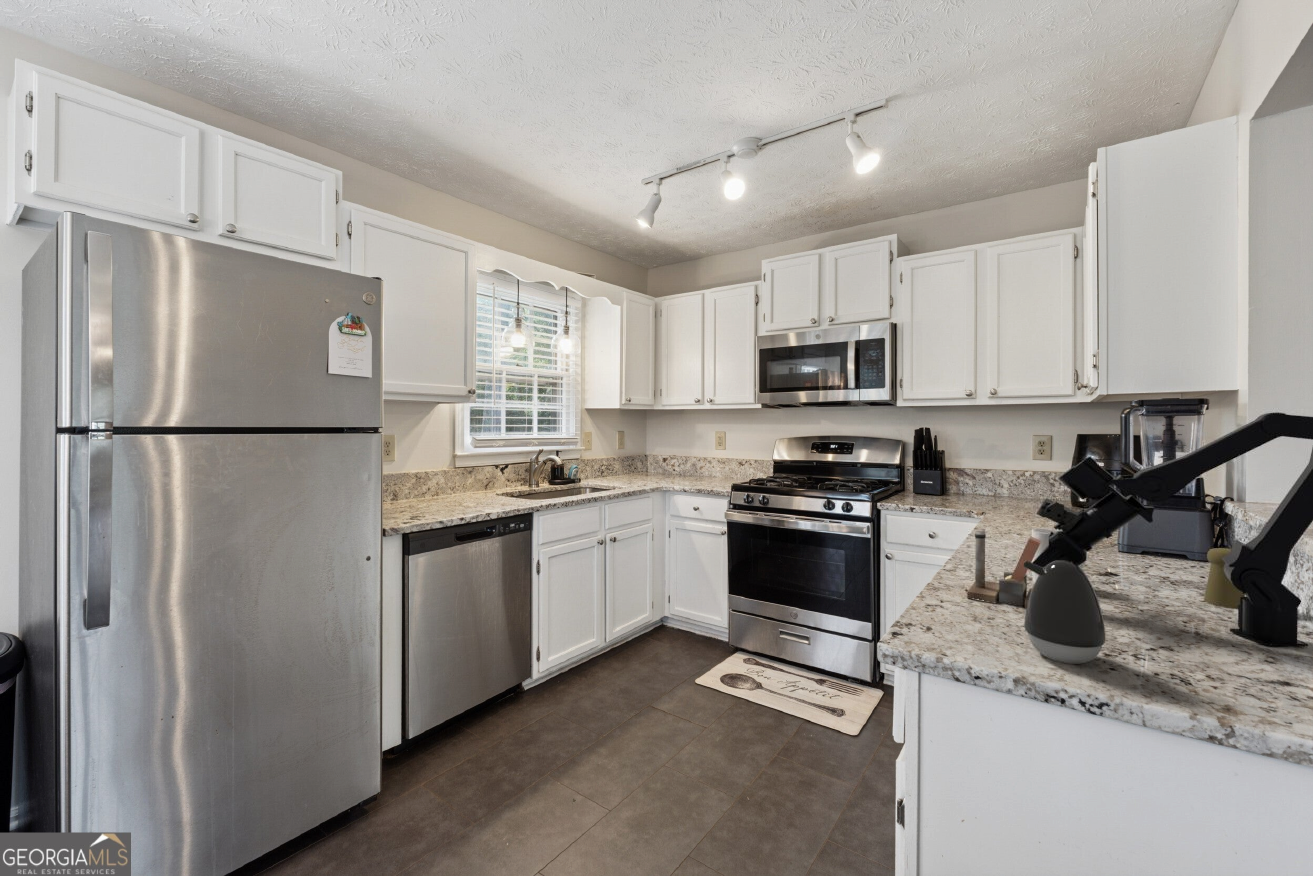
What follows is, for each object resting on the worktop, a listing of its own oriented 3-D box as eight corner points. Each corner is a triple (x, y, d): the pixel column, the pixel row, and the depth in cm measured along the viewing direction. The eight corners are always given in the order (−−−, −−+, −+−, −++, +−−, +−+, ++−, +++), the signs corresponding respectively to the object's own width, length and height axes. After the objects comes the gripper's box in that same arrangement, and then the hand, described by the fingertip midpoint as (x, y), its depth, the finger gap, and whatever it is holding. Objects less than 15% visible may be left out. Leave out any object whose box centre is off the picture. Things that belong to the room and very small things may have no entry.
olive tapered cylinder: (1227, 599, 113) (1228, 545, 113) (1256, 609, 107) (1257, 552, 107) (1195, 598, 114) (1195, 545, 114) (1222, 608, 108) (1222, 552, 108)
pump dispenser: (1026, 638, 94) (1027, 550, 93) (1105, 654, 87) (1106, 559, 87) (1018, 659, 86) (1019, 562, 86) (1104, 678, 79) (1105, 573, 79)
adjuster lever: (1021, 597, 116) (1047, 542, 113) (1018, 602, 113) (1045, 546, 110) (1000, 588, 118) (1025, 533, 115) (997, 592, 115) (1023, 536, 112)
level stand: (1059, 599, 115) (1059, 534, 114) (1055, 613, 106) (1056, 543, 106) (976, 586, 124) (976, 526, 124) (967, 598, 115) (967, 534, 115)
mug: (1025, 583, 126) (1026, 530, 126) (1039, 578, 130) (1039, 527, 129) (1078, 594, 118) (1078, 538, 117) (1090, 588, 121) (1091, 534, 121)
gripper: (1068, 482, 116) (1006, 528, 123) (1064, 491, 102) (993, 543, 109) (1116, 523, 111) (1049, 569, 119) (1119, 539, 97) (1042, 590, 104)
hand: (1033, 566), depth 113 cm, fingers closed
